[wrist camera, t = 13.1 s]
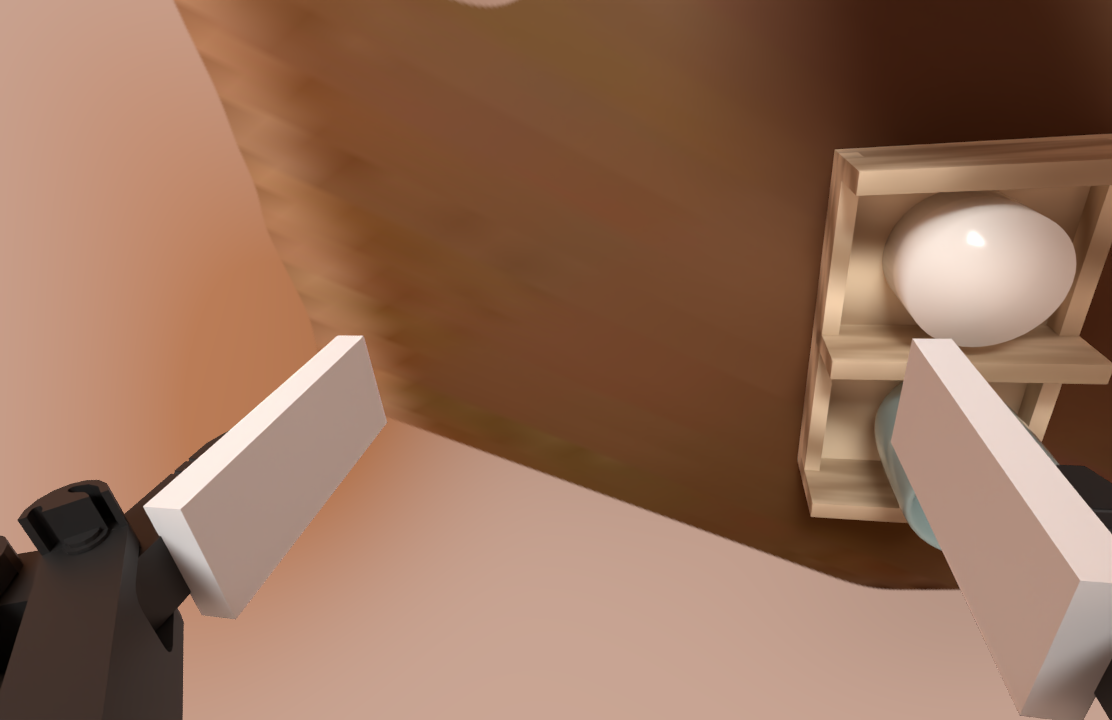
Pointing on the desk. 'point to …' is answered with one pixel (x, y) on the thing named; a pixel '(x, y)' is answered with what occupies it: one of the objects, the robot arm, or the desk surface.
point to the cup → (896, 472)
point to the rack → (888, 329)
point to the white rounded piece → (978, 266)
